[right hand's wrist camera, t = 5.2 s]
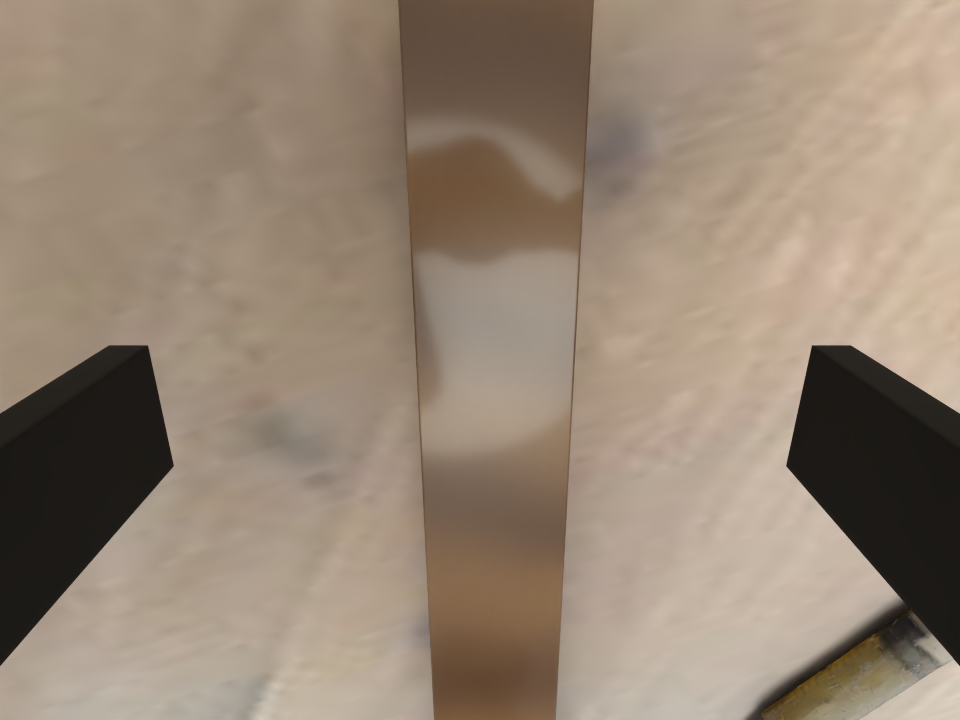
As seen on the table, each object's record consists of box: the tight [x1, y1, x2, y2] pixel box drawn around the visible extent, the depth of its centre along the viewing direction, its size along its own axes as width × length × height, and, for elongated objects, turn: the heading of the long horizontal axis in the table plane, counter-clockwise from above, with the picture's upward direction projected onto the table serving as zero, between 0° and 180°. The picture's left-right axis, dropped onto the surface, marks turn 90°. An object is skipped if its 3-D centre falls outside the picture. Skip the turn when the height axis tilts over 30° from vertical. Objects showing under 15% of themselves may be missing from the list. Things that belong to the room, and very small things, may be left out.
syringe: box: [761, 609, 954, 720], centre depth 30 cm, size 25×4×3 cm, turn 137°
